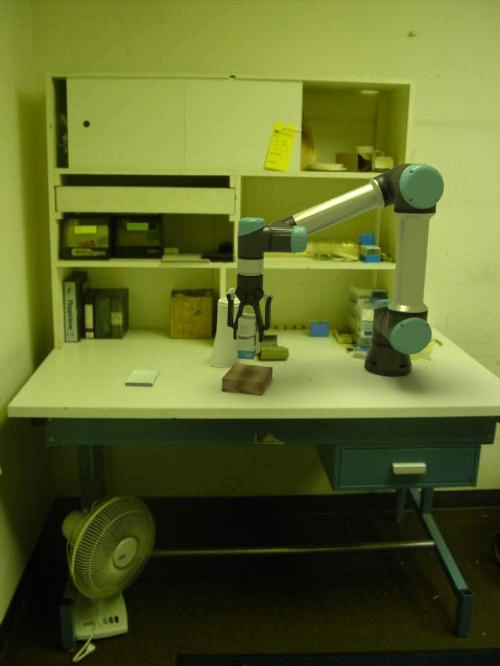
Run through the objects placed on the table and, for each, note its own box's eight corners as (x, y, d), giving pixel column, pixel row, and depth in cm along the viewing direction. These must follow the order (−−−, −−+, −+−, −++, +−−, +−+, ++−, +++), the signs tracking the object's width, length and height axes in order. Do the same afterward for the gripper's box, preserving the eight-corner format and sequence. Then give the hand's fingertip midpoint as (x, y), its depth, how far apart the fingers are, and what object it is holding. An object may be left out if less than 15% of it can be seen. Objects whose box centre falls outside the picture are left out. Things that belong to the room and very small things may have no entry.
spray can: (217, 355, 211) (217, 283, 204) (247, 358, 208) (248, 286, 201) (205, 365, 200) (205, 290, 193) (237, 369, 197) (238, 293, 191)
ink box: (253, 360, 177) (254, 320, 173) (236, 358, 178) (237, 319, 174) (259, 351, 185) (260, 313, 181) (242, 350, 186) (243, 312, 182)
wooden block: (272, 379, 189) (272, 367, 188) (262, 395, 176) (262, 382, 175) (234, 375, 192) (234, 363, 190) (221, 391, 178) (222, 378, 177)
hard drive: (152, 383, 181) (159, 369, 193) (124, 382, 181) (133, 368, 193) (152, 388, 181) (160, 374, 193) (125, 387, 181) (134, 373, 193)
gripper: (283, 273, 176) (280, 350, 182) (223, 268, 180) (222, 344, 186) (278, 277, 169) (275, 358, 175) (215, 273, 173) (214, 352, 179)
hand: (248, 351), depth 181 cm, fingers closed on ink box, 5 cm apart
